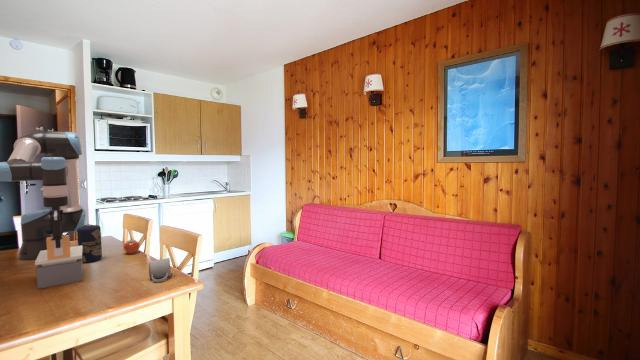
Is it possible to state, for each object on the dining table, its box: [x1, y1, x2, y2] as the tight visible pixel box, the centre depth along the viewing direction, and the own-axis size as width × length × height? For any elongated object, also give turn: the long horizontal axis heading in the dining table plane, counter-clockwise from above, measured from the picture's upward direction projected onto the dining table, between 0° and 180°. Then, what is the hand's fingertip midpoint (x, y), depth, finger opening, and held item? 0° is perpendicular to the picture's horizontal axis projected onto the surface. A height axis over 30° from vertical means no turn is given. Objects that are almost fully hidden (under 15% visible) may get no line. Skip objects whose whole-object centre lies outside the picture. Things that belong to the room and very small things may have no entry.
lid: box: [34, 234, 83, 267], centre depth 136 cm, size 19×15×11 cm
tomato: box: [123, 237, 140, 255], centre depth 172 cm, size 7×7×8 cm
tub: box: [35, 258, 84, 289], centre depth 137 cm, size 18×14×8 cm
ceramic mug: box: [148, 257, 172, 283], centre depth 136 cm, size 11×8×8 cm
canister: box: [76, 223, 103, 263], centre depth 160 cm, size 10×10×18 cm
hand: (59, 254), depth 130 cm, fingers closed on lid, 2 cm apart
